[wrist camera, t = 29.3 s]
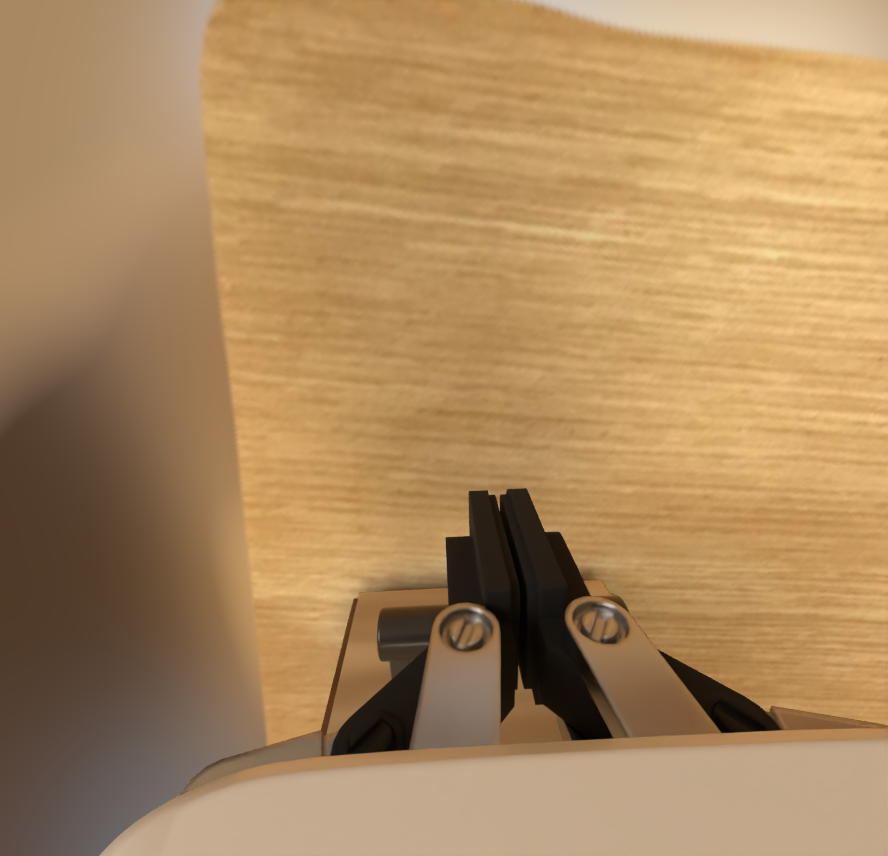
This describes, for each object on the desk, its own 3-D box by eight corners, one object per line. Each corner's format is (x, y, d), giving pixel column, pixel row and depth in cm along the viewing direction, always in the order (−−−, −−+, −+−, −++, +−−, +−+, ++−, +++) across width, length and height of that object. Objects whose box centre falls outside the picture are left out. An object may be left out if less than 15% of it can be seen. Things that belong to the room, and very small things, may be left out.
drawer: (345, 501, 17) (280, 668, 10) (612, 487, 17) (740, 643, 10) (387, 772, 24) (366, 991, 17) (580, 762, 24) (643, 975, 17)
